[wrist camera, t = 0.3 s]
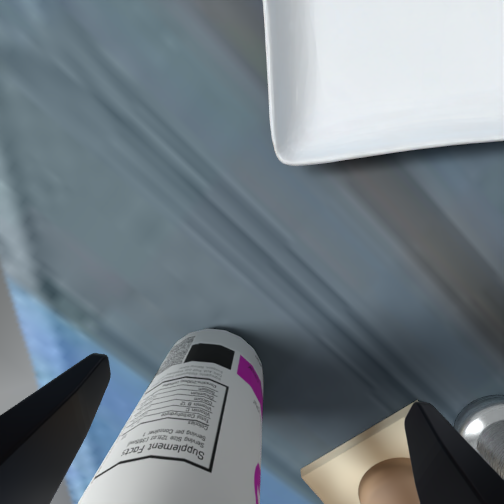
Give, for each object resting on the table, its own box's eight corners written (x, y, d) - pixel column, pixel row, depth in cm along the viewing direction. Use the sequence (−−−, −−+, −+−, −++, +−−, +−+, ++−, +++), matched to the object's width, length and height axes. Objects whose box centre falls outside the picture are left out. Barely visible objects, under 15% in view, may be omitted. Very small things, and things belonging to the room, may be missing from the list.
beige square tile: (376, 556, 30) (388, 596, 27) (300, 469, 28) (304, 502, 25) (492, 497, 28) (519, 533, 25) (417, 399, 26) (435, 426, 23)
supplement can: (282, 359, 26) (299, 581, 11) (228, 428, 28) (182, 699, 13) (200, 306, 26) (106, 468, 11) (150, 379, 27) (10, 606, 13)
